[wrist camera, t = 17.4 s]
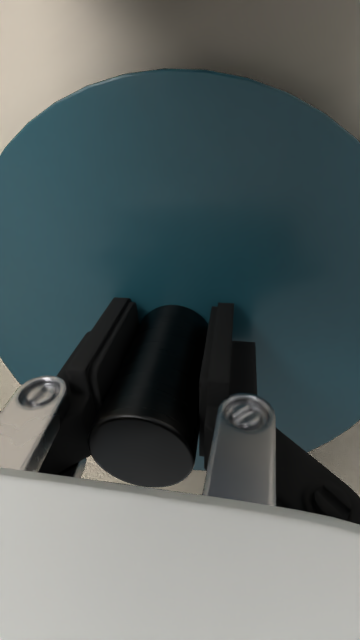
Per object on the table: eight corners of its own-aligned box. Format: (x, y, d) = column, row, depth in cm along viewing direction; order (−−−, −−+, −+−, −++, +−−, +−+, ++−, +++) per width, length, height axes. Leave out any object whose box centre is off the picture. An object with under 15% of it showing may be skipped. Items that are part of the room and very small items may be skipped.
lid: (44, 431, 18) (-35, 559, 13) (-79, 85, 10) (-405, 66, 5) (348, 467, 16) (396, 639, 11) (498, 54, 8) (963, -37, 3)
